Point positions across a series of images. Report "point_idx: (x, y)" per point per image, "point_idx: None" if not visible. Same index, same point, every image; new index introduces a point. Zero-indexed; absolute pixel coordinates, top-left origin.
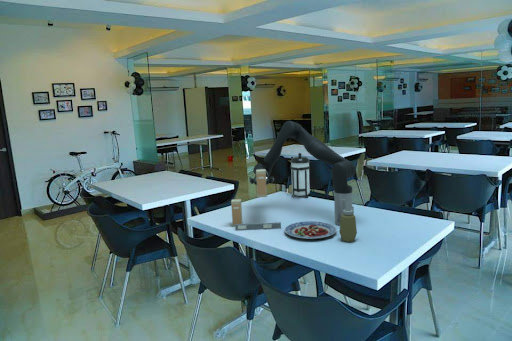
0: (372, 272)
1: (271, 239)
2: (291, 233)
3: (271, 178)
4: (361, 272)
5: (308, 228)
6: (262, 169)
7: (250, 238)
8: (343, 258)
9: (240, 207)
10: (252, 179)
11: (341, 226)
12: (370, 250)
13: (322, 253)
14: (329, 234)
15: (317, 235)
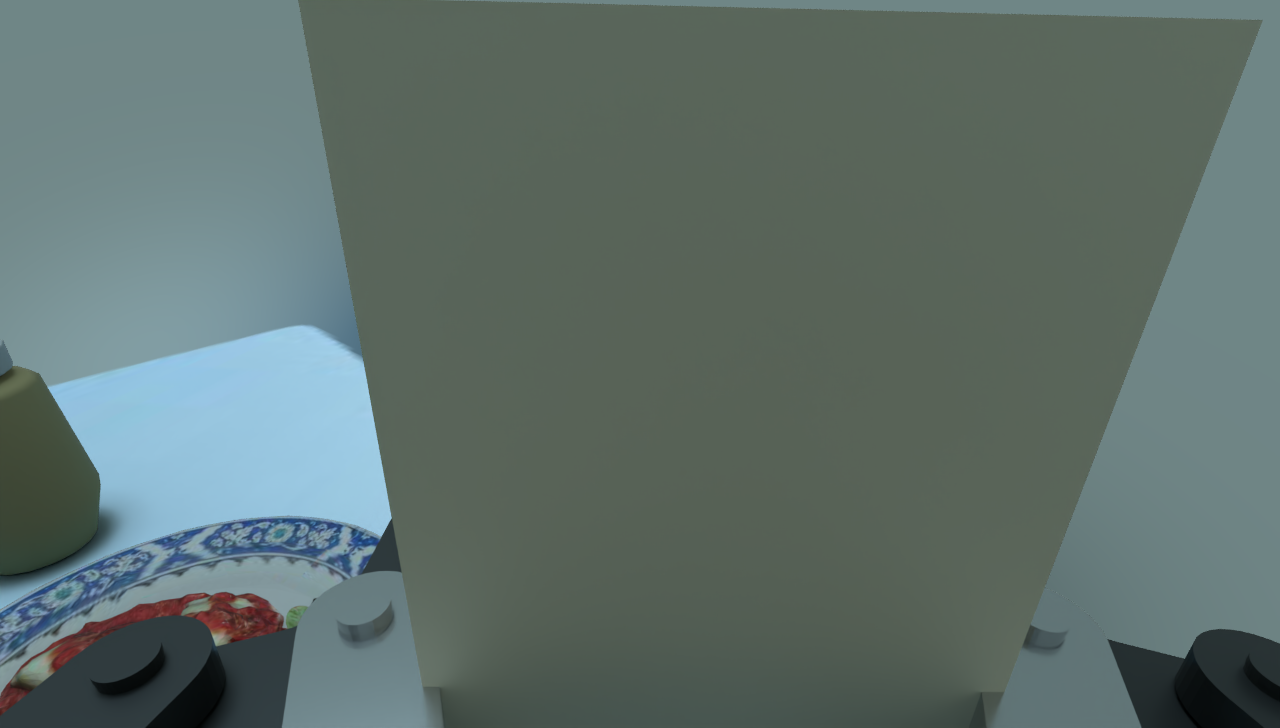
0: (282, 339)
1: None
2: None
3: (112, 642)
4: (316, 341)
5: None
6: (628, 9)
7: None
8: (294, 397)
9: None
10: (1203, 637)
11: (72, 443)
12: (98, 436)
13: (349, 431)
14: (126, 555)
15: (198, 595)
